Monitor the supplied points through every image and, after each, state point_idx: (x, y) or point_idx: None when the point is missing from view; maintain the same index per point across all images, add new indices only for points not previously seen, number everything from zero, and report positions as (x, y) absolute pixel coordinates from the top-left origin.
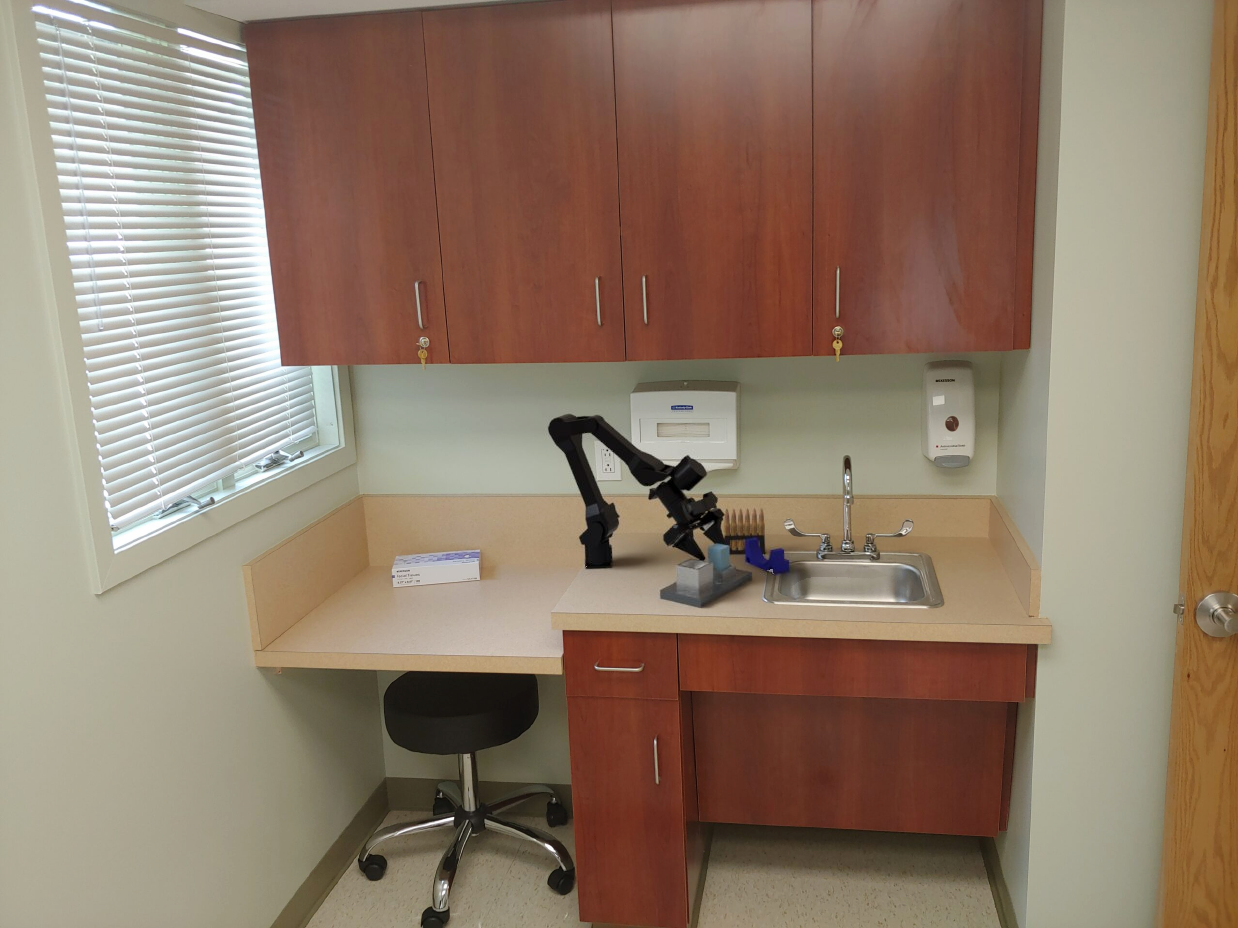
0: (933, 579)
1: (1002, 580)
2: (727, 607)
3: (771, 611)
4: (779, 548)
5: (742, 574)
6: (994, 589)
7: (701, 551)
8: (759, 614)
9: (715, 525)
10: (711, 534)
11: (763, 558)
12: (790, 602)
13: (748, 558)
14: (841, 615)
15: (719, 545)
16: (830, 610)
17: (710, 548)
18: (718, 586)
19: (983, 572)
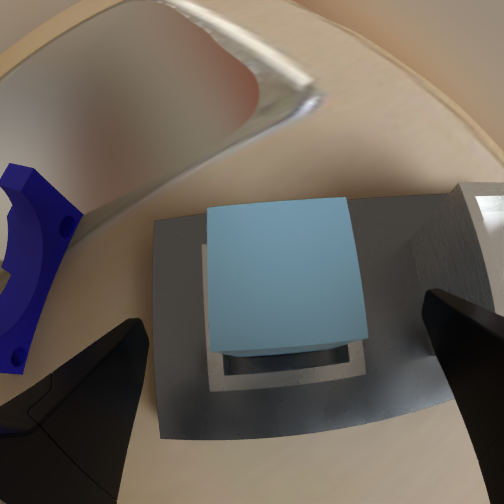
0: (46, 44)
1: (41, 25)
2: (434, 149)
3: (359, 68)
4: (2, 181)
5: (205, 230)
6: (71, 9)
7: (465, 309)
8: (395, 78)
9: (8, 462)
10: (89, 485)
11: (5, 297)
12: (276, 64)
13: (10, 362)
14: (269, 6)
15: (252, 282)
16: (260, 18)
17: (361, 309)
18: (399, 216)
19: (18, 45)
